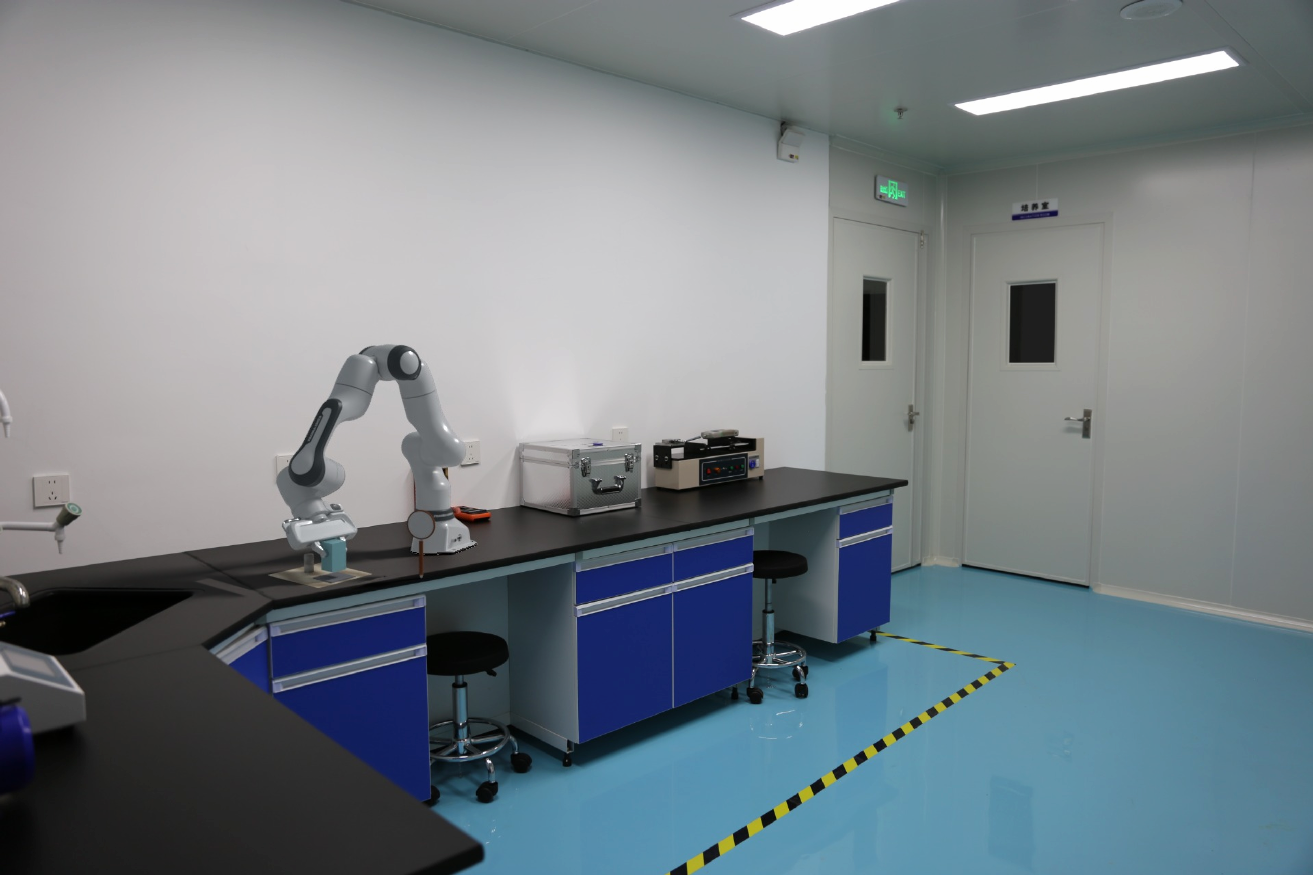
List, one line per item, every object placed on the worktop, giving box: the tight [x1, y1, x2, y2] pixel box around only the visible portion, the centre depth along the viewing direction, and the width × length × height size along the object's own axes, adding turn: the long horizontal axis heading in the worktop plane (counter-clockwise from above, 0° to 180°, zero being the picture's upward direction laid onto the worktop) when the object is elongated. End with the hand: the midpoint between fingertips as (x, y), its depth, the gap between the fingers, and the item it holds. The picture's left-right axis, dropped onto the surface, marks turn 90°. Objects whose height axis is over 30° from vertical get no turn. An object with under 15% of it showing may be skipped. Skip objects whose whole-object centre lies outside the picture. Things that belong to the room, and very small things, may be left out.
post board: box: [268, 553, 372, 589], centre depth 238 cm, size 18×22×6 cm
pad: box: [313, 572, 356, 583], centre depth 235 cm, size 8×8×1 cm
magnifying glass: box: [406, 510, 435, 579], centre depth 242 cm, size 9×2×20 cm, turn 79°
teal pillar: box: [320, 539, 347, 572], centre depth 235 cm, size 5×5×8 cm
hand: (335, 554), depth 234 cm, fingers closed on teal pillar, 5 cm apart
